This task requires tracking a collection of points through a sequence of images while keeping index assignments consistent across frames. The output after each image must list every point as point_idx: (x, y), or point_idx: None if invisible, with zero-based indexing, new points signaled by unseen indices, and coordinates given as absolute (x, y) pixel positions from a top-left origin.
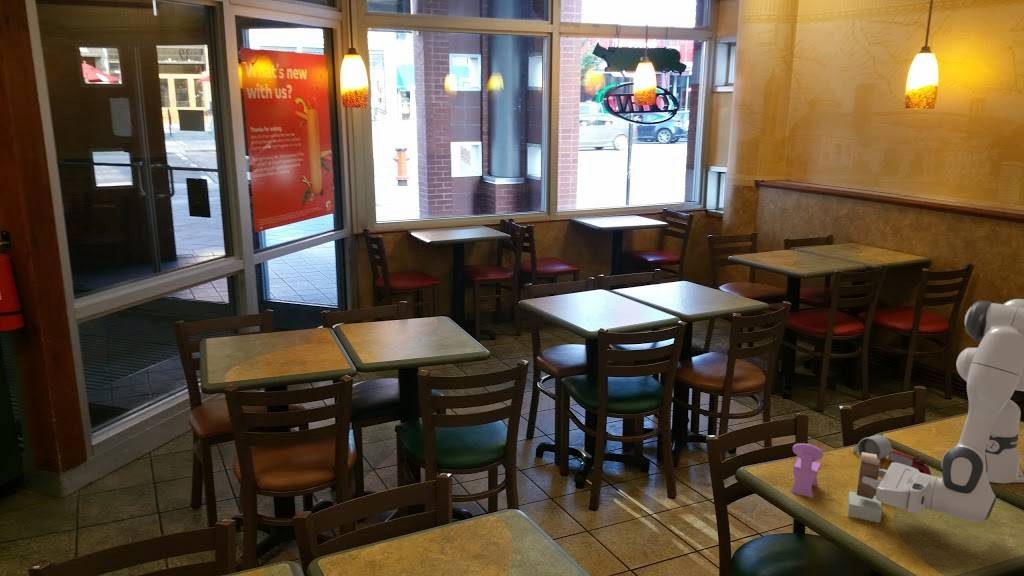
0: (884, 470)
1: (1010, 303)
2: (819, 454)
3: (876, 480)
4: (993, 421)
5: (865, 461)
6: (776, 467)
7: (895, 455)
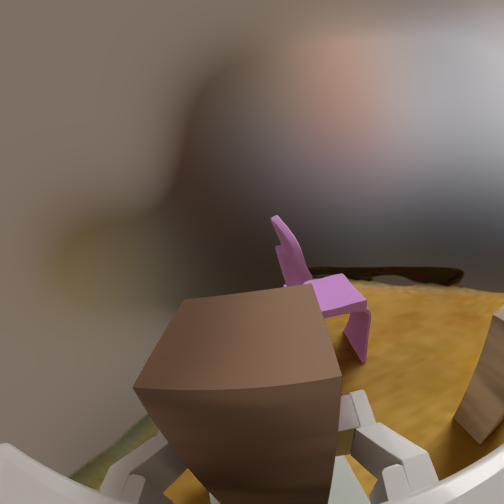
0: (410, 473)
1: None
2: (292, 255)
3: (123, 471)
4: None
5: (192, 314)
6: (367, 295)
7: None
